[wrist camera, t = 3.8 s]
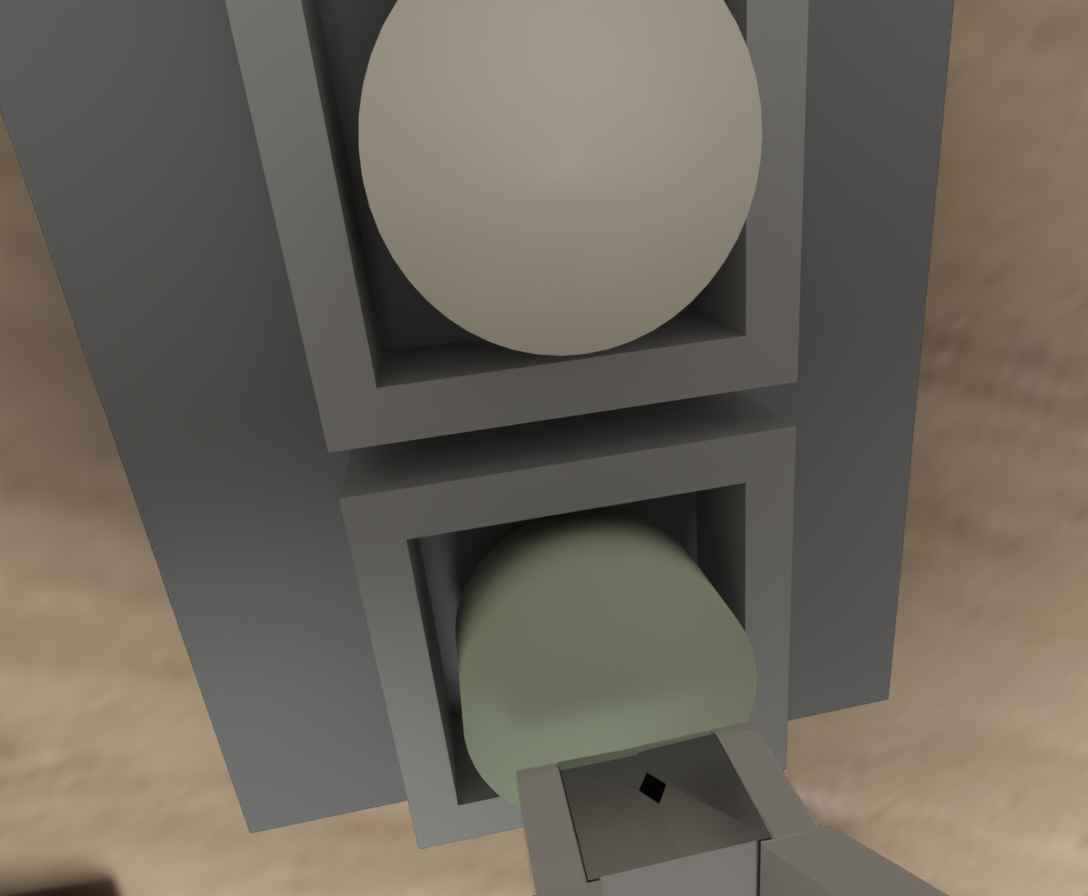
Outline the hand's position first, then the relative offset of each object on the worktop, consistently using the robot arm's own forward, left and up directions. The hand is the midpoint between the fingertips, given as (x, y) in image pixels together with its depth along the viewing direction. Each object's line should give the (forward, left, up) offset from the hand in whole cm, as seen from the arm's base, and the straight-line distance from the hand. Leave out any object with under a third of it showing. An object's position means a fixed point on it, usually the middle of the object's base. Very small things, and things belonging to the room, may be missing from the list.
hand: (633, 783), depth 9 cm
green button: (0, 0, -4) cm, 4 cm away
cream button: (0, -7, -4) cm, 8 cm away
